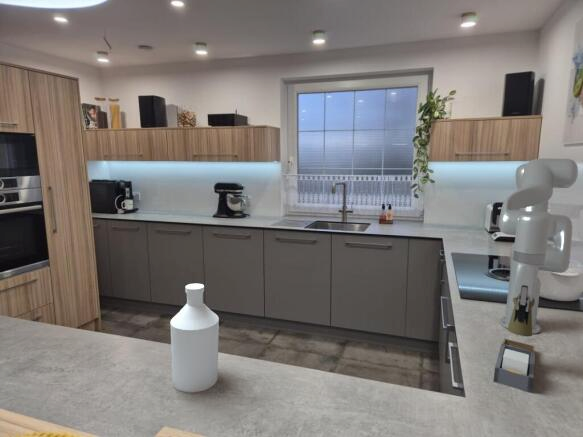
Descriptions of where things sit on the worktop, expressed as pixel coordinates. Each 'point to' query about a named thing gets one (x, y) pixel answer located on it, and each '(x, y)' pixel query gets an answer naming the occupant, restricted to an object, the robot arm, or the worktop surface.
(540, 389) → the worktop surface
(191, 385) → the bottle
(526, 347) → the wooden square frame
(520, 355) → the white block
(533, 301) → the cork
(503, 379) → the grey divided tray
